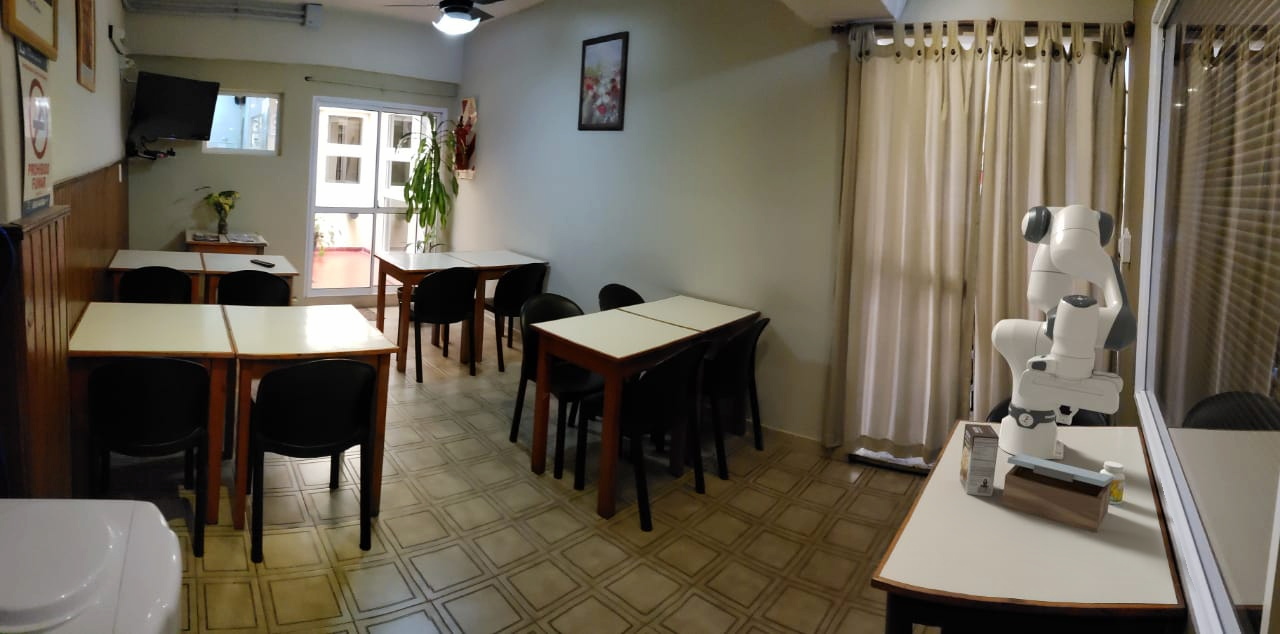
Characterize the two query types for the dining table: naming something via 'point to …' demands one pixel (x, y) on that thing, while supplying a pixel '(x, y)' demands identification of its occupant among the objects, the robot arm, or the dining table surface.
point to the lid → (1060, 470)
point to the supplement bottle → (1115, 480)
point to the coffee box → (978, 459)
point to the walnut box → (1056, 498)
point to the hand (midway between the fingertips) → (1063, 422)
